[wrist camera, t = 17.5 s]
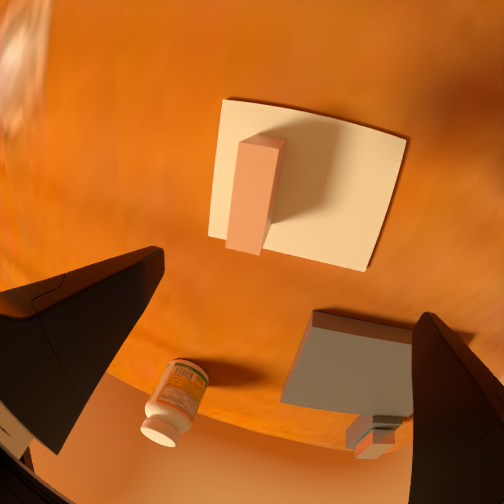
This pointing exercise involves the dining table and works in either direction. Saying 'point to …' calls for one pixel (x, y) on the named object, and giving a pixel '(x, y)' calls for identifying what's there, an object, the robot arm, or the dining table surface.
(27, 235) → the dining table surface
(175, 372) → the supplement bottle
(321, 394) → the case
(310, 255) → the cover
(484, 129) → the dining table surface
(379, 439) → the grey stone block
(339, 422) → the dining table surface
